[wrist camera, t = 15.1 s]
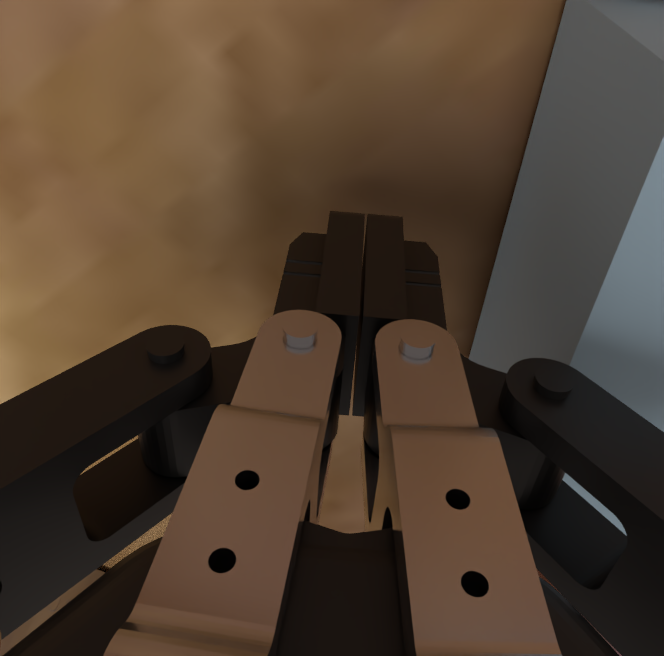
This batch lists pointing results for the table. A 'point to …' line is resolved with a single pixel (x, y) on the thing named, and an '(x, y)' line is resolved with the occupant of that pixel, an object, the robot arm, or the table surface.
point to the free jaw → (590, 215)
